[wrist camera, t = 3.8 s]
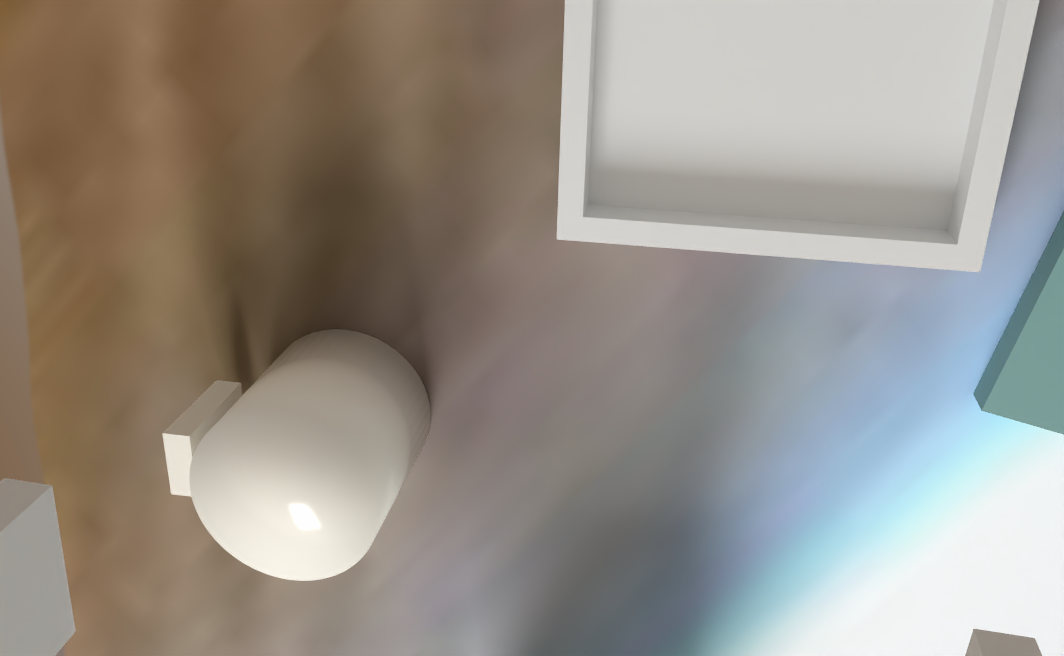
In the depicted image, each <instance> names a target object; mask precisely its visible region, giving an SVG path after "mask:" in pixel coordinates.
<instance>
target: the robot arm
mask: <svg viewBox="0 0 1064 656" xmlns="http://www.w3.org/2000/svg"><path fill="white" fill-rule="evenodd" d="M74 633H75V625H74V619H73V613H72V607H71V600H70V594H69V588H68V582H67V575H66V569H65V563H64V557H63V550H62V544H61V538H60V532H59V525H58V519H57V513H56V507H55V500H54V494H53V488H52V485H45V484H39V483H32V482H26V481H20V480H13V479H7V478H4V479H3V480H2V481H1V482H0V656H55V655H56V654H57V653H58V651H59V650H60V649H61V648H62V647H63V646H64V644H65V643H66V642H67V641H68V640H69V639H70V637H71V636H72V635H73V634H74ZM966 656H1042V654H1041V652H1040V650H1039V647H1038V645H1037V643H1036V640H1035V638H1029V637H1023V636H1017V635H1010V634H1004V633H997V632H991V631H984V630H978V629H974V630H973V633H972V636H971V639H970V643H969V646H968V649H967V652H966Z"/></svg>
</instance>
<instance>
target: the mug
mask: <svg viewBox="0 0 1064 656" xmlns="http://www.w3.org/2000/svg"><path fill="white" fill-rule="evenodd" d="M430 420H431V412H430V404H429V399H428V395H427V392H426V390H425V387H424V385H423V383H422V381H421V379H420V377H419V375H418V374H417V373H416V371H415V370H414V368H413V367H412V366H411V365H410V363H409V362H408V361H407V360H406V359H405V358H404V357H403V356H402V355H401V354H399V353H398V352H397V351H396V350H395V349H393V348H392V347H390V346H389V345H388V344H386V343H384V342H382V341H380V340H379V339H377V338H374V337H372V336H369V335H367V334H364V333H360V332H357V331H351V330H345V329H330V330H322V331H318V332H313V333H311V334H308V335H306V336H303V337H301V338H300V339H298V340H296V341H295V342H293V343H292V344H291V345H290V346H288V347H287V348H286V349H285V350H284V352H283V353H282V354H281V355H280V356H279V357H278V358H277V359H276V360H275V361H274V362H273V363H272V364H271V365H270V366H269V368H268V369H267V370H266V371H265V372H264V373H263V374H262V375H261V376H260V377H259V378H258V379H257V380H256V381H255V382H254V384H253V385H252V386H251V387H250V388H249V389H248V390H247V391H246V392H245V393H244V394H243V395H242V388H241V383H238V382H228V381H218V380H216V381H215V382H214V383H213V384H212V385H211V386H210V387H209V388H208V389H207V390H206V391H205V392H204V393H203V394H202V395H201V396H200V397H199V398H198V399H197V400H196V401H195V402H194V403H193V404H192V405H191V406H190V407H189V408H188V409H187V410H186V411H185V412H184V413H183V414H182V415H181V416H180V417H179V418H178V419H177V420H176V421H175V422H173V423H172V424H171V425H170V426H169V427H168V428H167V429H166V430H165V431H164V432H163V440H164V447H165V454H166V461H167V468H168V475H169V482H170V489H171V494H175V495H184V496H192V500H193V503H194V506H195V509H196V511H197V513H198V515H199V517H200V519H201V521H202V522H203V524H204V526H205V527H206V529H207V530H208V531H209V533H210V534H211V535H212V536H213V538H214V539H215V540H216V541H217V542H218V543H219V544H220V545H221V546H222V547H223V548H224V549H225V550H226V551H228V552H229V553H230V554H231V555H232V556H234V557H235V558H237V559H238V560H240V561H241V562H243V563H244V564H246V565H248V566H250V567H252V568H254V569H256V570H258V571H260V572H263V573H265V574H268V575H271V576H275V577H278V578H283V579H289V580H300V581H307V580H318V579H325V578H328V577H331V576H335V575H337V574H339V573H342V572H344V571H346V570H347V569H349V568H350V567H352V566H353V565H355V564H356V563H357V562H358V561H359V560H360V559H361V558H362V557H363V556H364V555H365V553H366V552H367V551H368V549H369V548H370V546H371V544H372V542H373V540H374V539H375V537H376V535H377V533H378V531H379V529H380V527H381V525H382V523H383V522H384V520H385V518H386V516H387V514H388V512H389V510H390V508H391V506H392V505H393V503H394V501H395V499H396V497H397V495H398V493H399V491H400V489H401V487H402V486H403V484H404V482H405V480H406V478H407V476H408V474H409V472H410V470H411V469H412V467H413V465H414V463H415V461H416V459H417V457H418V455H419V453H420V451H421V450H422V448H423V446H424V444H425V442H426V439H427V436H428V433H429V428H430Z"/></svg>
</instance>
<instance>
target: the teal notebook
mask: <svg viewBox="0 0 1064 656" xmlns="http://www.w3.org/2000/svg"><path fill="white" fill-rule="evenodd" d="M974 396H975V398H976V400H977V402H978V404H979V406H980V408H981V410H982V411H985V412H988V413H992V414H995V415H999V416H1002V417H1006V418H1009V419H1013V420H1016V421H1020V422H1023V423H1026V424H1030V425H1033V426H1037V427H1040V428H1044V429H1047V430H1051V431H1054V432H1057V433H1061V434H1064V212H1063V214H1062V216H1061V218H1060V220H1059V222H1058V224H1057V226H1056V228H1055V230H1054V232H1053V234H1052V236H1051V238H1050V240H1049V242H1048V244H1047V246H1046V248H1045V250H1044V252H1043V255H1042V257H1041V259H1040V261H1039V263H1038V265H1037V267H1036V269H1035V271H1034V273H1033V275H1032V277H1031V279H1030V281H1029V283H1028V285H1027V287H1026V289H1025V291H1024V293H1023V295H1022V297H1021V299H1020V301H1019V303H1018V305H1017V307H1016V309H1015V311H1014V313H1013V315H1012V317H1011V319H1010V321H1009V323H1008V325H1007V327H1006V329H1005V331H1004V333H1003V335H1002V337H1001V339H1000V341H999V343H998V345H997V347H996V349H995V351H994V353H993V355H992V357H991V359H990V361H989V363H988V365H987V367H986V369H985V371H984V373H983V375H982V378H981V380H980V382H979V384H978V386H977V388H976V390H975V392H974Z"/></svg>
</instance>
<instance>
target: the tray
mask: <svg viewBox="0 0 1064 656" xmlns="http://www.w3.org/2000/svg"><path fill="white" fill-rule="evenodd" d="M1038 4H1039V0H565V20H564V48H563V76H562V104H561V132H560V161H559V189H558V217H557V239H559V240H571V241H584V242H597V243H610V244H623V245H636V246H649V247H662V248H675V249H688V250H701V251H714V252H727V253H739V254H752V255H765V256H778V257H791V258H804V259H817V260H830V261H843V262H856V263H869V264H882V265H895V266H907V267H920V268H933V269H946V270H959V271H972V272H980V270H981V266H982V261H983V256H984V252H985V247H986V243H987V238H988V234H989V229H990V224H991V220H992V215H993V211H994V206H995V201H996V197H997V192H998V188H999V183H1000V179H1001V174H1002V169H1003V165H1004V160H1005V156H1006V151H1007V146H1008V142H1009V137H1010V133H1011V128H1012V124H1013V119H1014V114H1015V110H1016V105H1017V101H1018V96H1019V91H1020V87H1021V82H1022V78H1023V73H1024V69H1025V64H1026V59H1027V55H1028V50H1029V46H1030V41H1031V36H1032V32H1033V27H1034V23H1035V18H1036V14H1037V9H1038Z"/></svg>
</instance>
